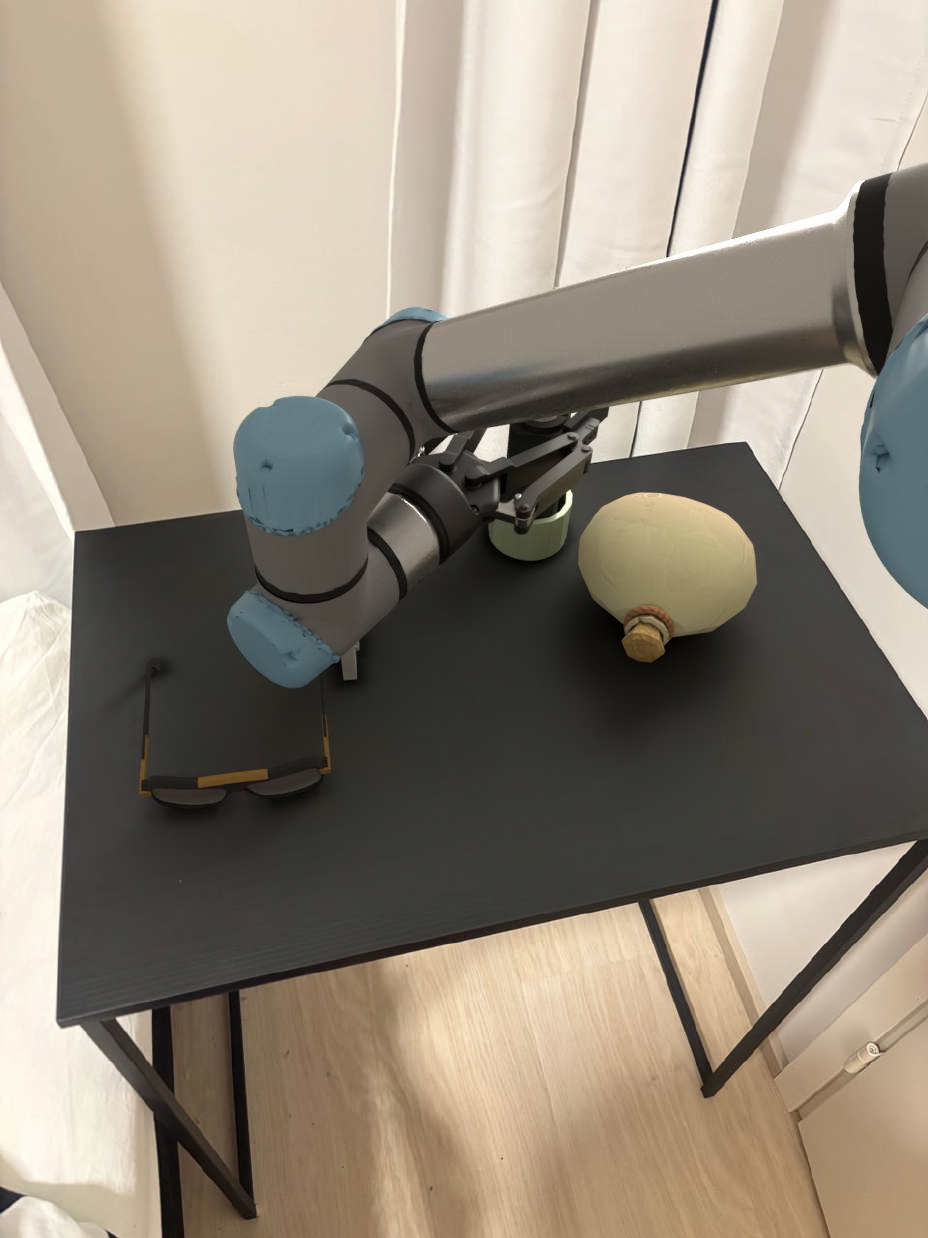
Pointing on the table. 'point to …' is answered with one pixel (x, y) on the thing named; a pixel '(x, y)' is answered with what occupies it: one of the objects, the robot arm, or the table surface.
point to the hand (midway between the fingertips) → (573, 386)
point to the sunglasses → (219, 787)
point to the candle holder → (534, 534)
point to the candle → (534, 445)
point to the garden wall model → (350, 663)
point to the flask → (666, 568)
